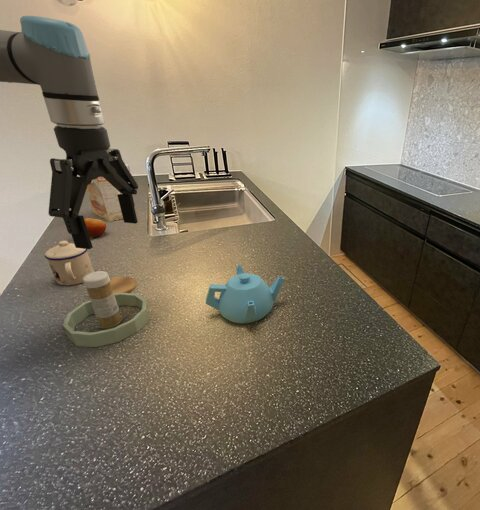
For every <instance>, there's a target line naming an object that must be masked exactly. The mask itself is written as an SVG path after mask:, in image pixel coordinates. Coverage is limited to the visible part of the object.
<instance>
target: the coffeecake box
mask: <svg viewBox="0 0 480 510" xmlns="http://www.w3.org/2000/svg"><path fill="white" fill-rule="evenodd" d="M86 192H87V195H88V197H89V198H88V199H89V201H90V204H91V207H92V210H93V214H94V215H97V216H98V217H100V218H101V219H103V220H105V221H106V222H109V223H112V222H115V221H114V220H116V221H120V220H123V216H122V212H121V208H120V204H119V200H118V196H117V195H118V194H122V193H120V192H119V191H118V190H117V189H116V188H115V187H114V186H112V185H111V184H110V183H109V182H108V181H107V180H106V179H105V178H104V177H98V178H97V179H94V180H92V182H91V183H90V184H88V186H87V189H86ZM119 219H120V220H119ZM111 221H112V222H111Z"/></svg>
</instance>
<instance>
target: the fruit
mask: <svg viewBox="0 0 480 510" xmlns="http://www.w3.org/2000/svg"><path fill="white" fill-rule="evenodd" d="M84 220H85V224H86V227H87V230H88V233H89V237H90V240H91V241H92V240H93V238H96V237H101V236H103V235H104V234H105V233H106V230H107V224H106V222H105V221H103V220H101V219H98V218H97V219H96V218H92V217H86V218H84Z"/></svg>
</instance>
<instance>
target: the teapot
mask: <svg viewBox="0 0 480 510" xmlns="http://www.w3.org/2000/svg"><path fill="white" fill-rule="evenodd" d="M284 281H285V277H284V276H277V278H276V279H275V280H274V282H273V283H271V285H270V286H268V284H267V283H266V282H265V281H264V280H263V279H262V277H260V276H259V275H257V274H255V273H249V272H248V273H247V272H246V273H245V272H244V269H243V267H242V265H241V264H237V265H236V275H233V276H232V277H230V278H229V279H228V280H227V282H226V283H225V284H218V283H217V284H214V283H210V284H209V287H208V291H207V294H206V296H205V297H206V298H205V304H206V305H207V306H209V307H211V308H213V309H215V310H217V311H219V314H220V315H221V316H222V317H223V318H224V319H226V320H228V321H230V322H232V323H235V324H243V325H244V324H252V323H256V322H258V321H260V320H261V319H263V318H265V317H266V316H267V315H268V314H269V313H270V312H271V311H272V309H273V307H274V302H276V301H277V298H278V296H279V293H280V291H281V288H282V286H283V284H284ZM216 293H220V294H219V297H215V295H216Z"/></svg>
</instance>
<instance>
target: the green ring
mask: <svg viewBox="0 0 480 510" xmlns="http://www.w3.org/2000/svg"><path fill="white" fill-rule="evenodd" d="M114 295H115V299H116V302H117V305H118V307H121V306H127V307H138V309H140V311H138V312H137V313H136V314H135V316H133V317H132V318H131V319H130V320H128V321H126V322H123V323H120V324H119V325H117V326H115V327H113V328H106V329H103V330H98V331H93V332H90V331H78V330H76V327H77V326H78V325H79V324H80V323H82V322H83V321H84V320H85V319H86V318H89V316H91V315H94V314H95V311H94V308H93V306H92V302H91V299H90V300H88V301H85V302H82V303H81V304H79V305H78V306H77V307H75V308H73V309H72V310H71V311H70V312H68V313H67V314H66V316H65V318H64V321H63V324H62V327H63V329H64V332H65V334H66V337H67V338H68V340H70V341H71V342H72V343H73V344H74V345H75V346H76V347H86V348H87V347H88V348H99V347H103V346H107V345H113V344H115V343H119V342H121V341H123V340H125V339H127V338H129V337H131V336H133V335H135V334H137V333H138V332H139V331H140V330H142V329H143V327H144V326H145V325H146V324H147V323H148V322H149V319H150V309H149V305H148V301H147V299H146V298H144V297H142V295H140V294H139V293H131V292H129V293H116V294H114Z"/></svg>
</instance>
